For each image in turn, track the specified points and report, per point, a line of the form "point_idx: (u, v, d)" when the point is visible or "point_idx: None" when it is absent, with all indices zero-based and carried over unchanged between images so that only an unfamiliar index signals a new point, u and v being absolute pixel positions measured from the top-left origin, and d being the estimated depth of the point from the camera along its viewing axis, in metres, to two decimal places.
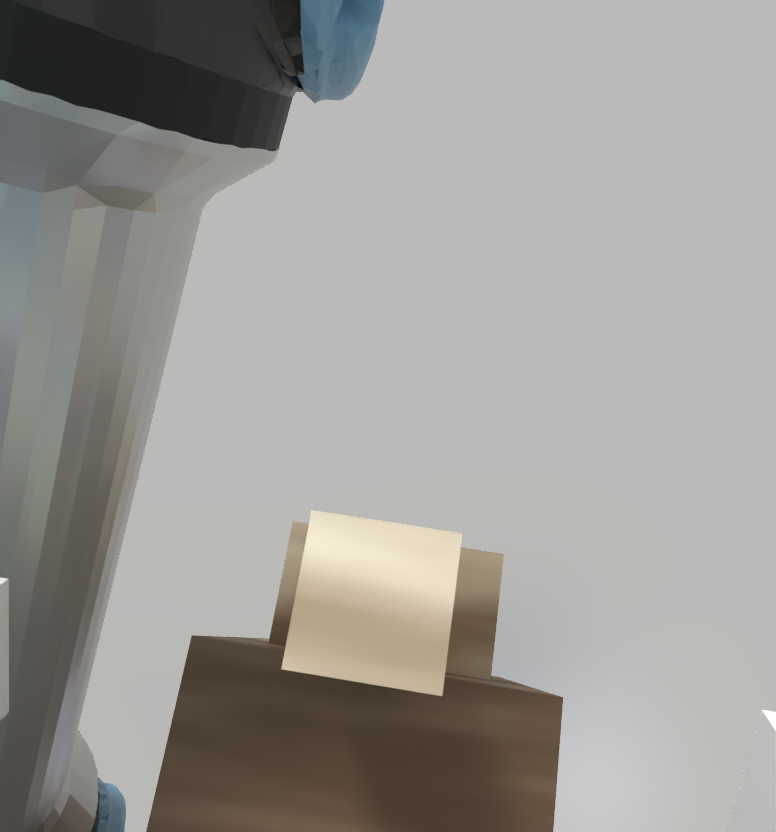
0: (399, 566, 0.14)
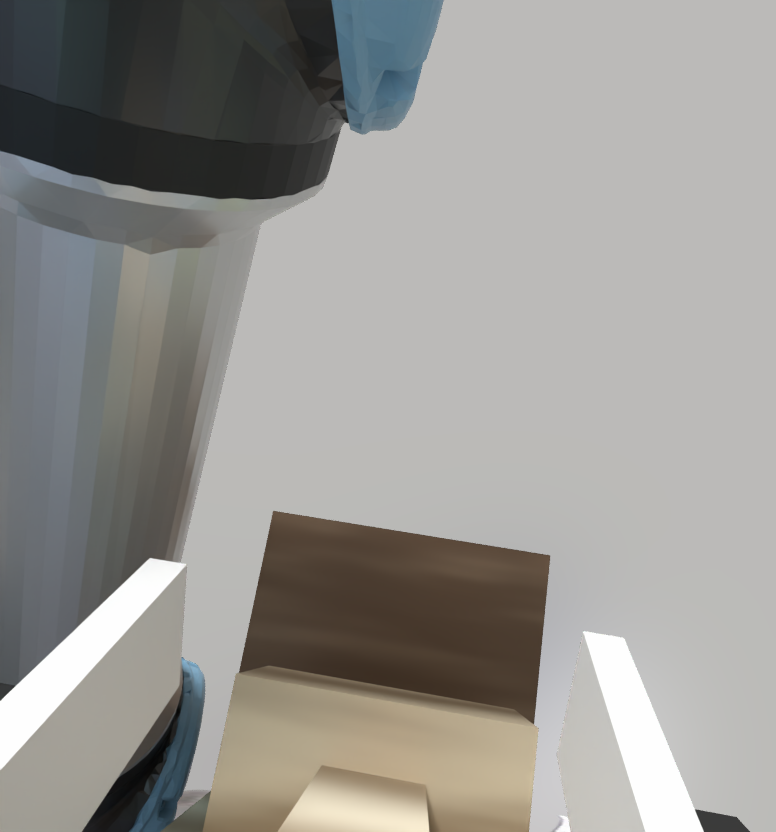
0: None
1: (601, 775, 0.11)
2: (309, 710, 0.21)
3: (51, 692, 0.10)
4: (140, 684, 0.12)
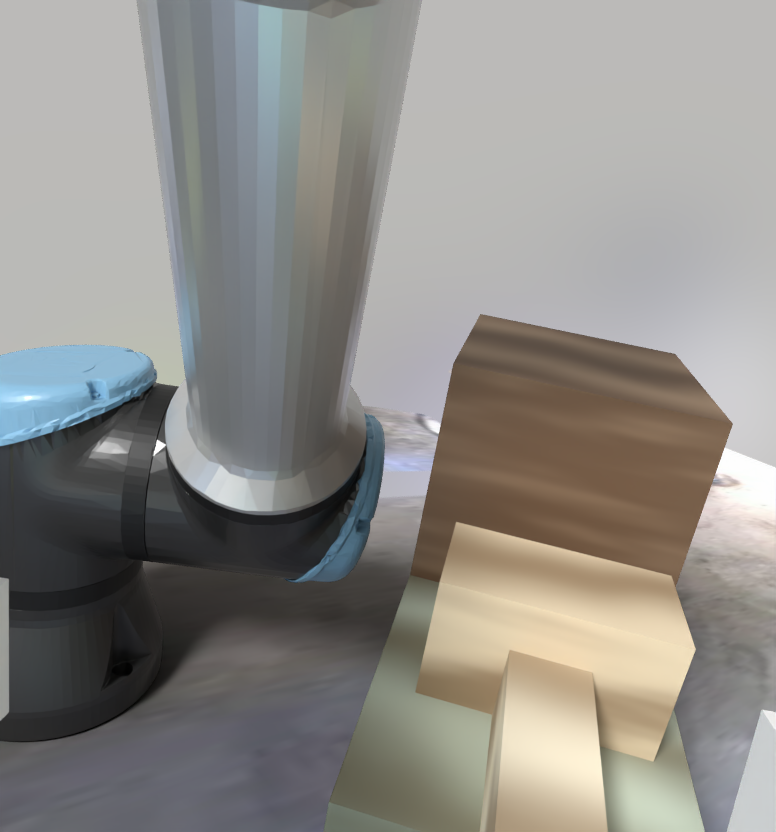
0: None
1: None
2: (500, 613, 0.25)
3: None
4: None
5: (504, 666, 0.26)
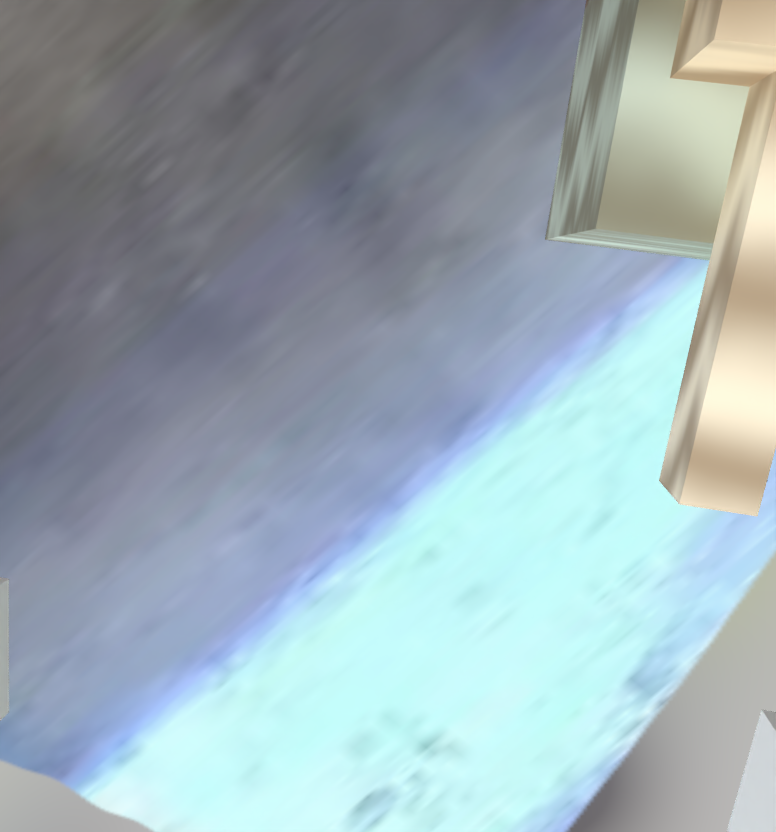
0: None
1: None
2: None
3: None
4: None
5: (773, 73, 0.25)
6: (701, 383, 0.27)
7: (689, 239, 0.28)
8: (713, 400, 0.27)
